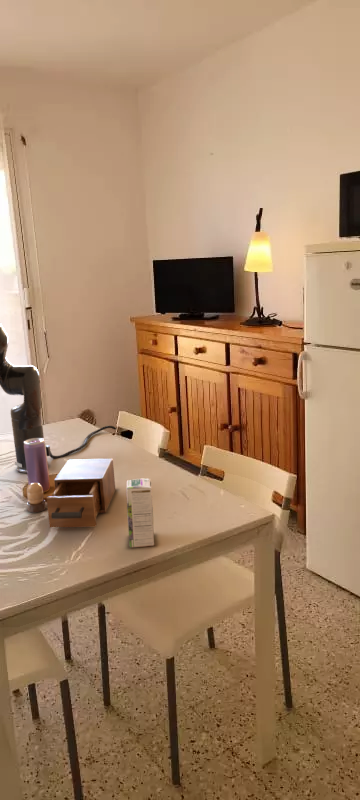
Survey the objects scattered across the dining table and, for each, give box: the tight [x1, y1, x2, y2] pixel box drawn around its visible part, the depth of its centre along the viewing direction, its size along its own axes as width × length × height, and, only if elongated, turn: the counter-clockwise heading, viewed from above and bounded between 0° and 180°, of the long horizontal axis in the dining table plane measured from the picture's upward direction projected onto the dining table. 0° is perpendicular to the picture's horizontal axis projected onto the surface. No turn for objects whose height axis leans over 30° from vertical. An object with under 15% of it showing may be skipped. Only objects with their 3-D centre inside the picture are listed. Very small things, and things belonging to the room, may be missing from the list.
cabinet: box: [53, 457, 116, 514], centre depth 166 cm, size 16×13×10 cm
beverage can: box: [24, 438, 51, 494], centre depth 175 cm, size 6×6×15 cm
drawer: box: [45, 481, 102, 528], centre depth 154 cm, size 19×11×8 cm, turn 176°
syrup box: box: [126, 478, 155, 549], centre depth 141 cm, size 6×6×14 cm
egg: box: [26, 482, 47, 513], centre depth 163 cm, size 5×5×7 cm
